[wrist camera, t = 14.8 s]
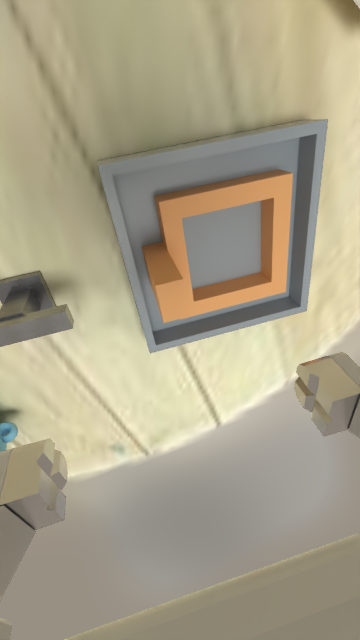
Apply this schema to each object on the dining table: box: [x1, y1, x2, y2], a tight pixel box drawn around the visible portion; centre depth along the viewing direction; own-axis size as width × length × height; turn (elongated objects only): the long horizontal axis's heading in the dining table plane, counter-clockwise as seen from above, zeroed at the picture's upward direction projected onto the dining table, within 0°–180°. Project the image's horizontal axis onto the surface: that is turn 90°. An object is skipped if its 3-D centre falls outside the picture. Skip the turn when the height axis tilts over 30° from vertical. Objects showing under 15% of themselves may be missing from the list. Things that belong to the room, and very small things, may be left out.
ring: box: [141, 169, 293, 323], centre depth 32 cm, size 16×14×10 cm
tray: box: [97, 120, 328, 353], centre depth 35 cm, size 22×22×4 cm
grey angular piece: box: [0, 271, 74, 347], centre depth 32 cm, size 5×8×8 cm, turn 99°
